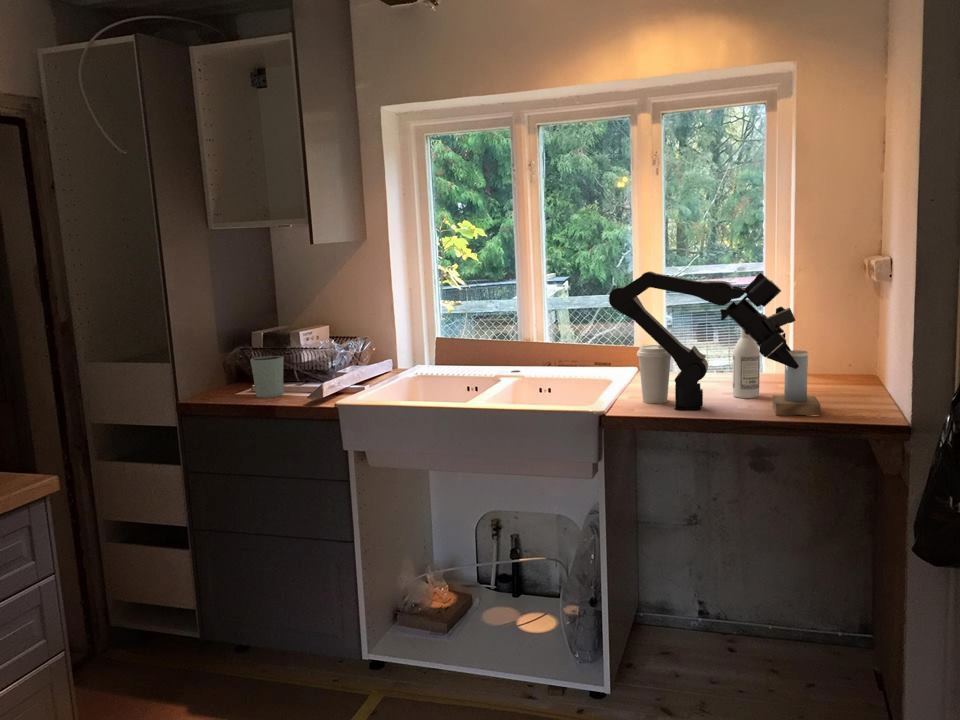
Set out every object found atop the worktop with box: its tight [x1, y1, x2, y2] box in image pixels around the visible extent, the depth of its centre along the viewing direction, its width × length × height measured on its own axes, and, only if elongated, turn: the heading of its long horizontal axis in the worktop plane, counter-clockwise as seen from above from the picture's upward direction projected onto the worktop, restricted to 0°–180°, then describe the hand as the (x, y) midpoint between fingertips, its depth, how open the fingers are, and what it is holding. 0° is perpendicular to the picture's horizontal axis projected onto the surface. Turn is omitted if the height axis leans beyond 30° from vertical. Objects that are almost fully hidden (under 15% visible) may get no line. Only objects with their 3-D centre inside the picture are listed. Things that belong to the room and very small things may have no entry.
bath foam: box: [732, 327, 761, 399], centre depth 211 cm, size 7×7×20 cm
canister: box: [783, 349, 809, 402], centre depth 191 cm, size 5×5×12 cm
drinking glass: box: [249, 355, 285, 399], centre depth 245 cm, size 10×10×12 cm
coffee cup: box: [636, 344, 672, 404], centre depth 210 cm, size 10×10×15 cm
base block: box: [772, 394, 821, 417], centre depth 192 cm, size 10×10×3 cm
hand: (796, 364), depth 190 cm, fingers open, 9 cm apart
